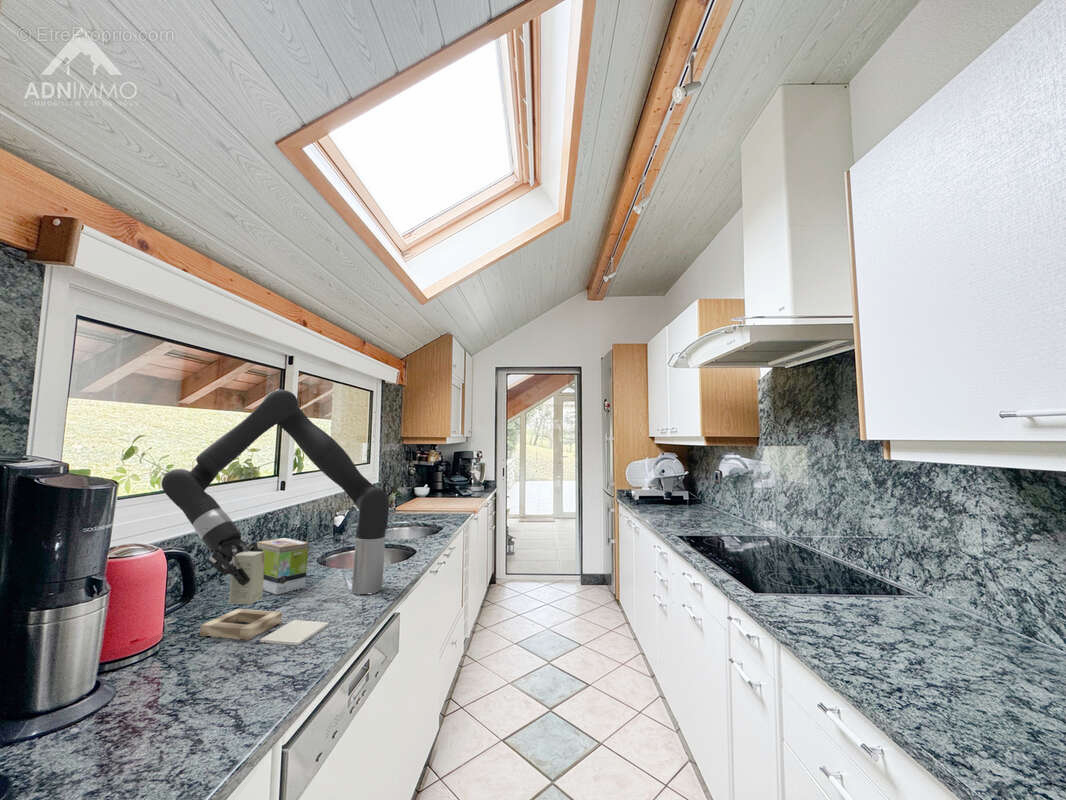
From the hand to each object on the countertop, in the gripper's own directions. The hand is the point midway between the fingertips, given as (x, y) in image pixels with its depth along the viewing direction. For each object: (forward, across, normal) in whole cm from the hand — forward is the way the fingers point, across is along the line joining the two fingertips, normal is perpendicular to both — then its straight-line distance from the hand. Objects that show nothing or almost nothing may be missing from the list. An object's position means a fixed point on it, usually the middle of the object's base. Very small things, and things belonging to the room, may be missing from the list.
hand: (253, 579), depth 110 cm
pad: (+18, 0, -1) cm, 18 cm away
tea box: (-2, +31, +20) cm, 37 cm away
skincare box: (+3, 0, +5) cm, 6 cm away
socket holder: (+7, 0, +10) cm, 12 cm away
